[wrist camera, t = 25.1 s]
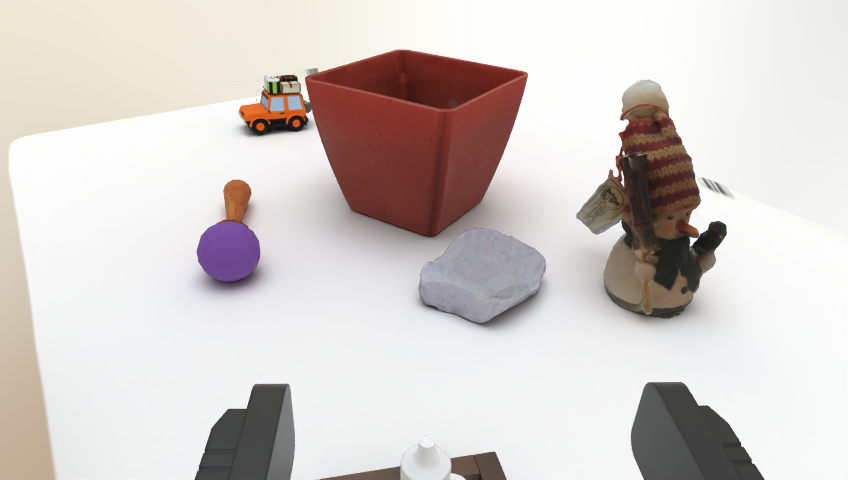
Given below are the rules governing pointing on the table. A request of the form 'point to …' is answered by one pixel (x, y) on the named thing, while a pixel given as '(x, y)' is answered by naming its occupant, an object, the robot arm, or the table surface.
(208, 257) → the purple maraca
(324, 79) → the flower pot
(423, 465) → the eye dropper bottle
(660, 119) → the figurine
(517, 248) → the stone block
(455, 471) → the brown wooden square frame
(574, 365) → the table surface
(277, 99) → the toy car
